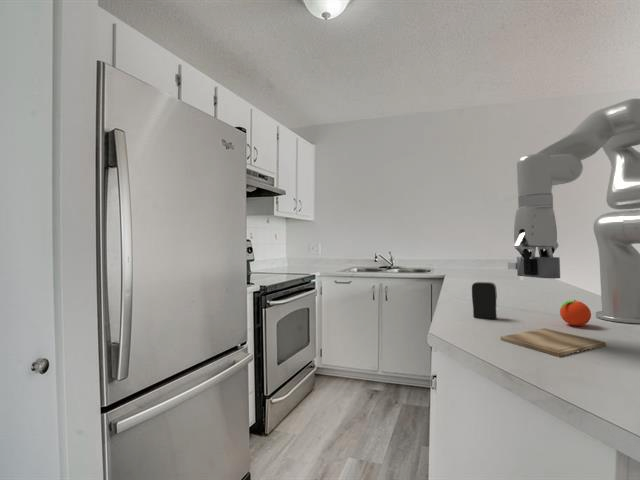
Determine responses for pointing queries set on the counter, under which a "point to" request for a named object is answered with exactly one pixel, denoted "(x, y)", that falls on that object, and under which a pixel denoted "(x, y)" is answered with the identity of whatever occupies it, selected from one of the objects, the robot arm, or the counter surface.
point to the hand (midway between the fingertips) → (537, 273)
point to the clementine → (575, 313)
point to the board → (553, 341)
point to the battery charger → (484, 300)
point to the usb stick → (539, 267)
